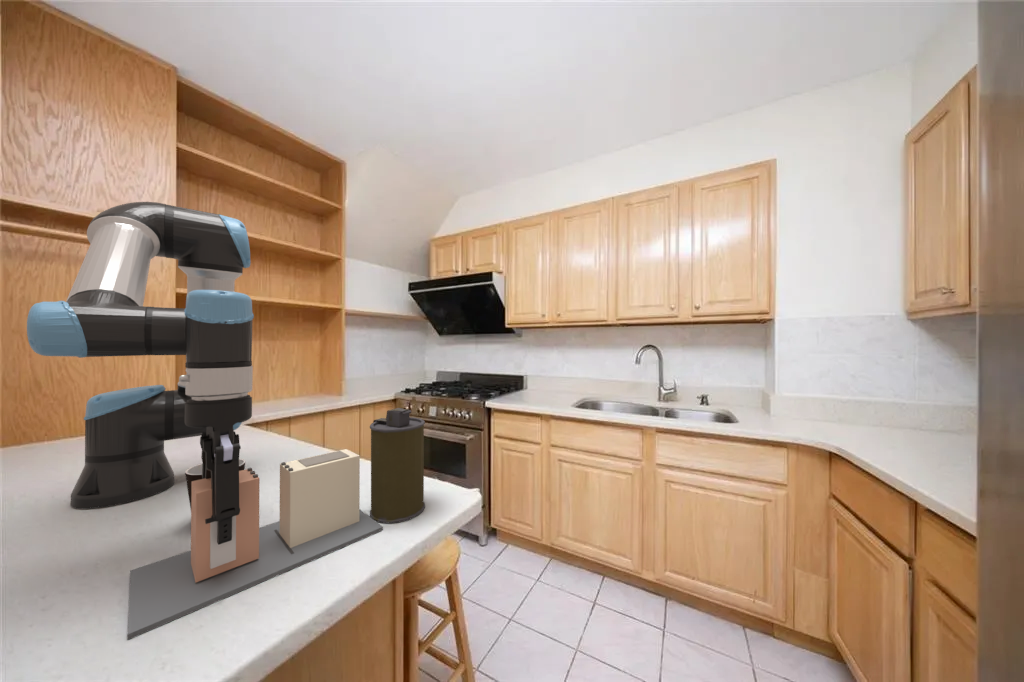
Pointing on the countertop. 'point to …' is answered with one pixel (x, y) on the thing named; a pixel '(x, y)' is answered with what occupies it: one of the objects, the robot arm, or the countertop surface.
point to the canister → (397, 467)
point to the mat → (224, 574)
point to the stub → (244, 525)
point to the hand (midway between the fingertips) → (218, 552)
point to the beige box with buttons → (318, 495)
